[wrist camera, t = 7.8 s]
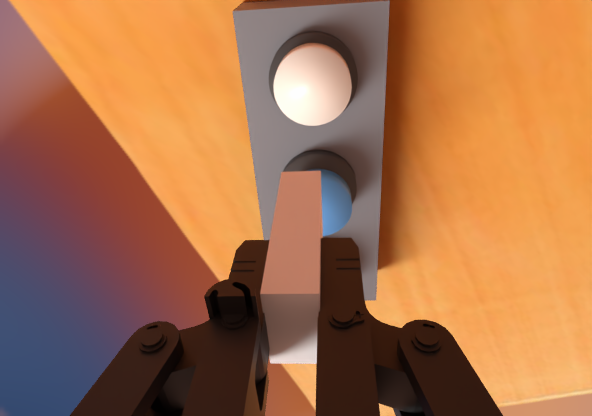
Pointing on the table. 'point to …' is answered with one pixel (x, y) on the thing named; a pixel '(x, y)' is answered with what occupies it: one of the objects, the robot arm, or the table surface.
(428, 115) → the table surface
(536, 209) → the table surface
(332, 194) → the blue button
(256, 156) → the button panel
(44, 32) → the table surface
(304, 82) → the ivory button
